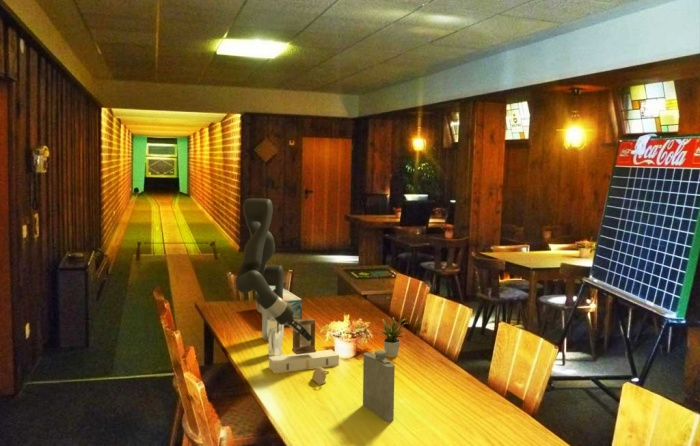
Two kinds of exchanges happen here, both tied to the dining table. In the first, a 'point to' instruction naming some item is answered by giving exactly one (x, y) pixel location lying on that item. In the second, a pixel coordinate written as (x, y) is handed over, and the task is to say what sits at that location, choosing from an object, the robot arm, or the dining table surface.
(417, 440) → the dining table surface
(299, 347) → the picture frame
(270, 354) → the beer glass
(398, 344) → the house plant
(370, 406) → the hip flask
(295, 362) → the picture ledge
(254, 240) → the robot arm
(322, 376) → the decorative ornament
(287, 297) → the soda box
